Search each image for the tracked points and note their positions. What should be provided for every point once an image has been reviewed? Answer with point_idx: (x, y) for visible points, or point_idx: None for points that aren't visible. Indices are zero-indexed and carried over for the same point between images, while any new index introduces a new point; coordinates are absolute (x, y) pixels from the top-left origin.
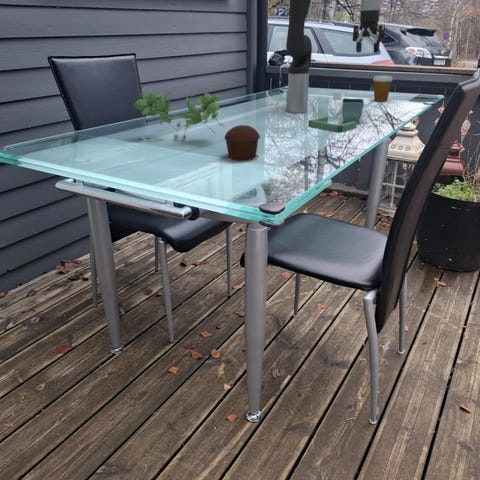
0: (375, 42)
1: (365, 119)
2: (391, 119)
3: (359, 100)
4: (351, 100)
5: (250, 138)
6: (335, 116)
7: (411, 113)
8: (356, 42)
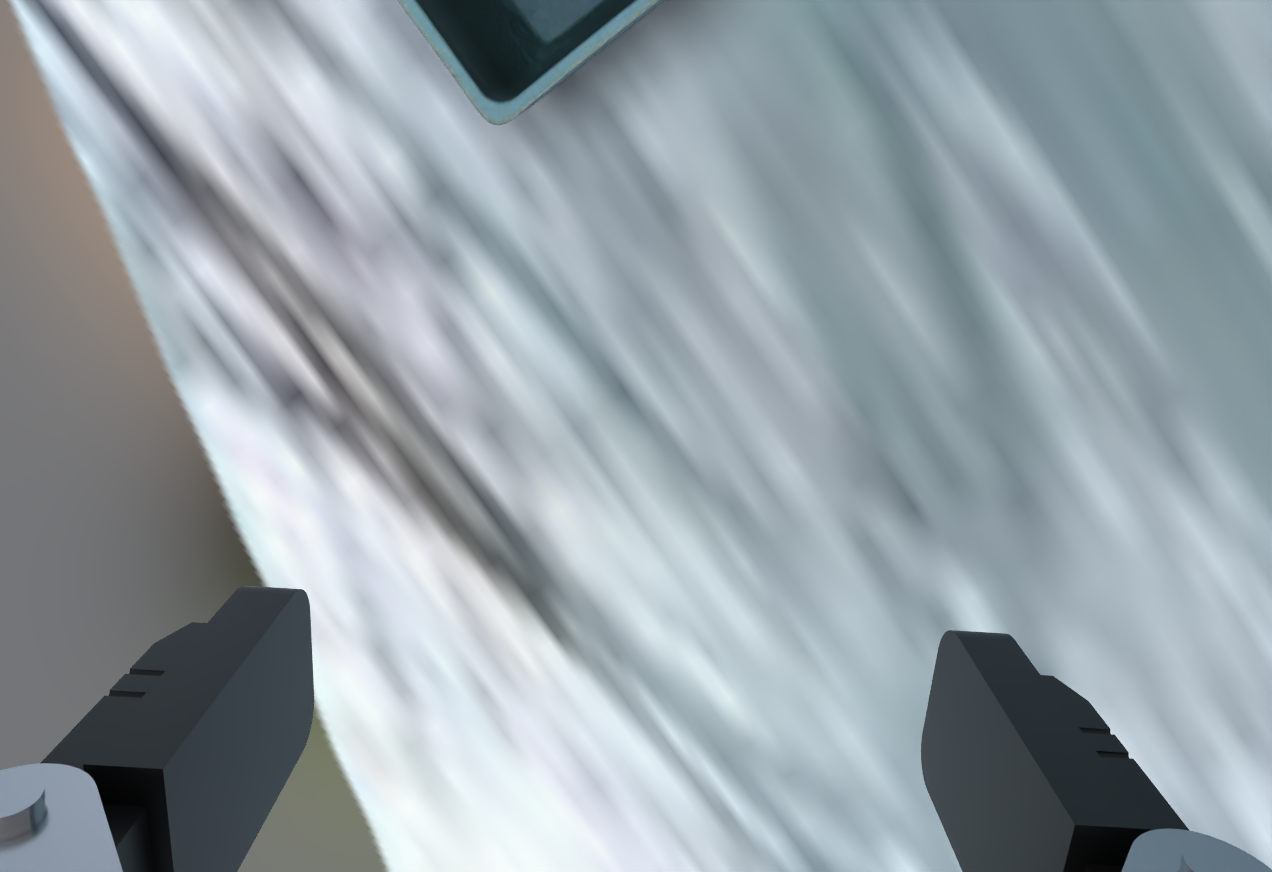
0: (52, 779)
1: (529, 202)
2: (333, 379)
3: (530, 86)
4: (622, 10)
5: None
6: (896, 114)
7: (372, 731)
8: (1208, 844)
